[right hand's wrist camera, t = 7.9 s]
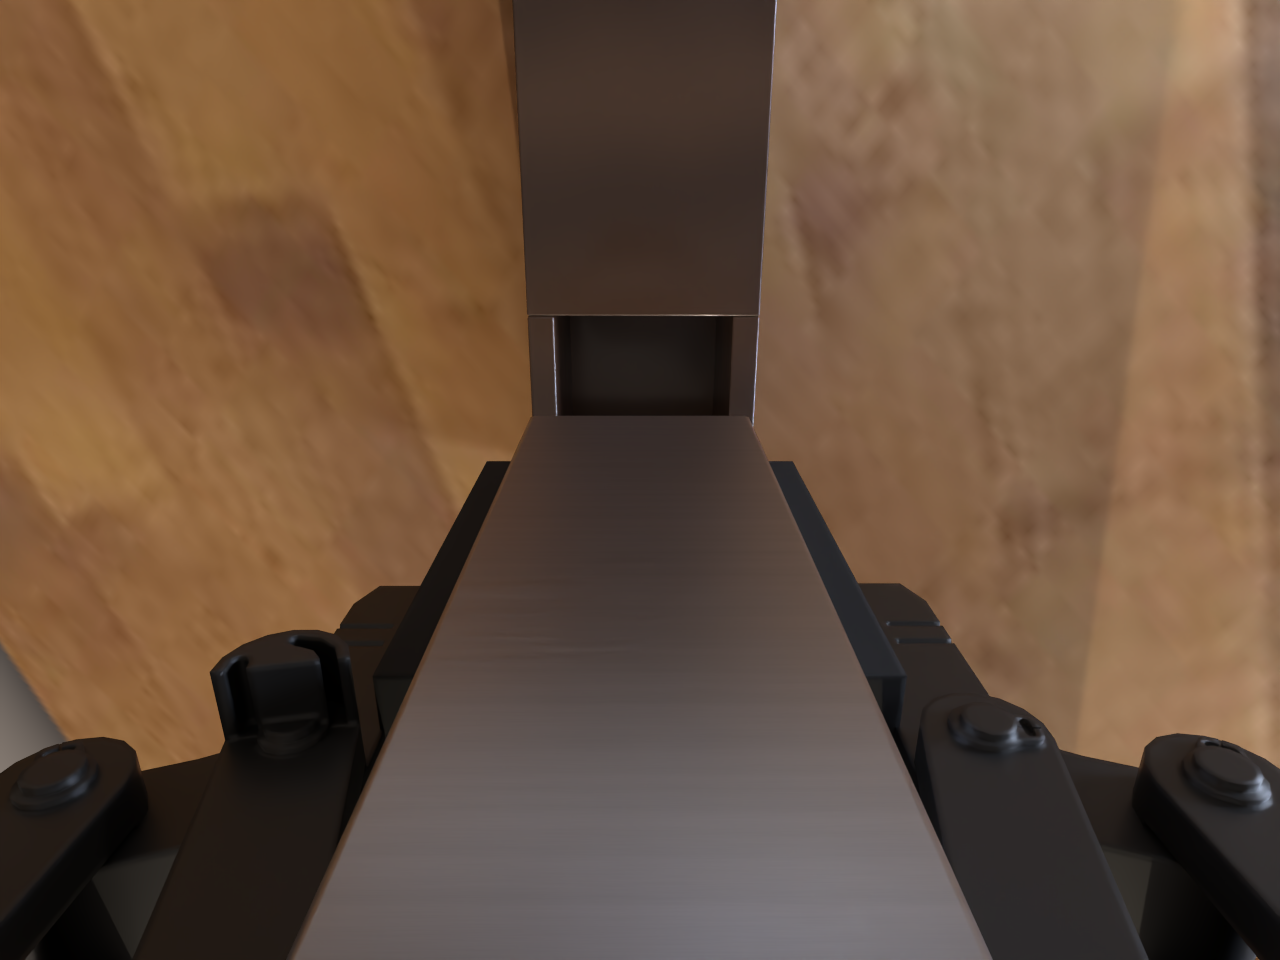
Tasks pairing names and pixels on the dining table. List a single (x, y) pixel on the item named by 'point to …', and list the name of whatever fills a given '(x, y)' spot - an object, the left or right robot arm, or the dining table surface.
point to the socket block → (643, 201)
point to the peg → (639, 736)
